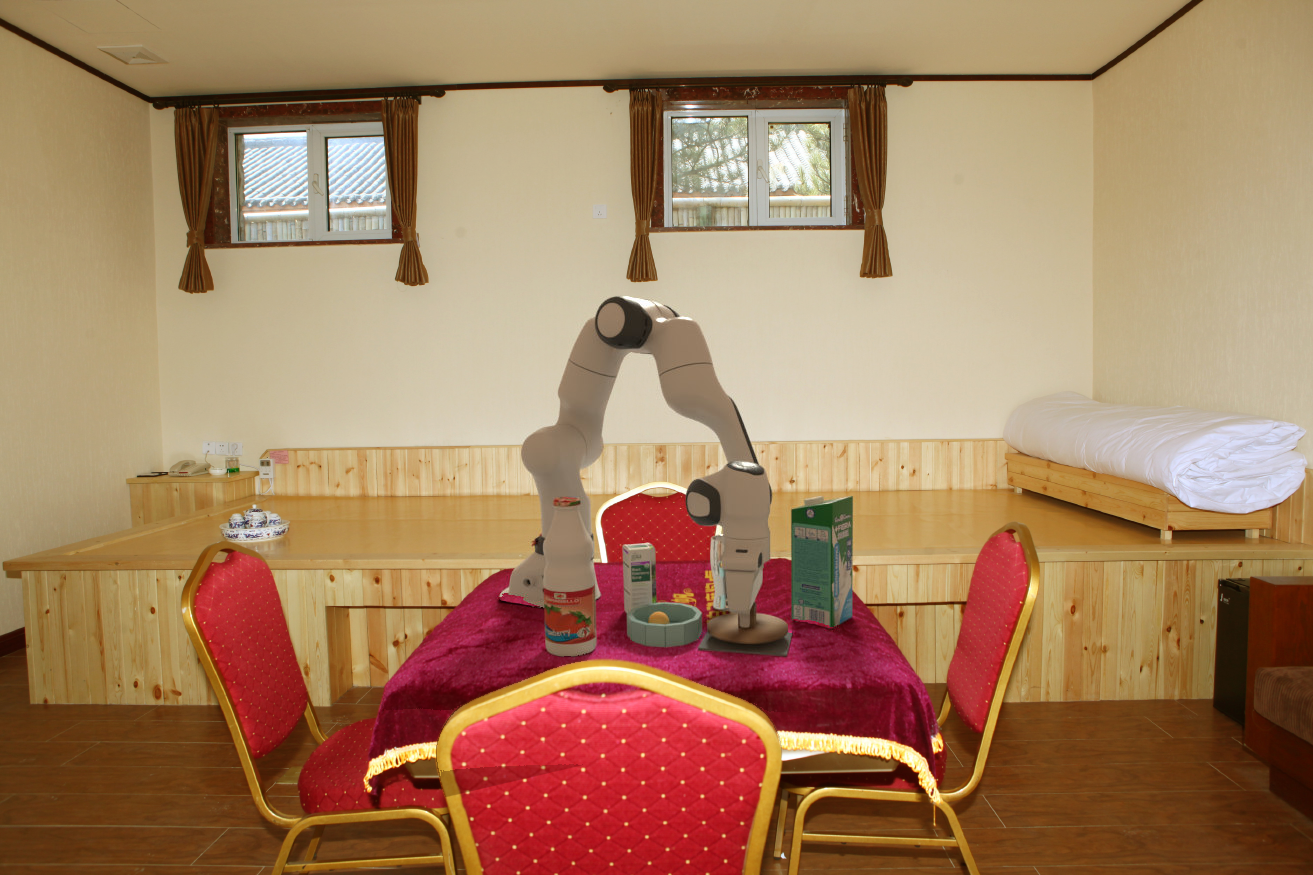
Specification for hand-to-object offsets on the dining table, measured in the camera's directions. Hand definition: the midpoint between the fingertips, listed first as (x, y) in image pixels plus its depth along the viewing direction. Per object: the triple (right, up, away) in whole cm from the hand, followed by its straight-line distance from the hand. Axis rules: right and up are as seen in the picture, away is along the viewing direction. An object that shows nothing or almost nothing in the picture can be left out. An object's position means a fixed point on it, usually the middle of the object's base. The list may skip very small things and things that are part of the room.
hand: (746, 622), depth 148 cm
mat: (0, -4, 0) cm, 4 cm away
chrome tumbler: (-2, -2, +21) cm, 21 cm away
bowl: (-15, -3, +5) cm, 16 cm away
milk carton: (+17, -2, +12) cm, 20 cm away
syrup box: (-20, -2, +17) cm, 27 cm away
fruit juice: (-33, -5, -2) cm, 33 cm away
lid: (0, -1, 0) cm, 1 cm away
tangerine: (-16, -1, +4) cm, 17 cm away
